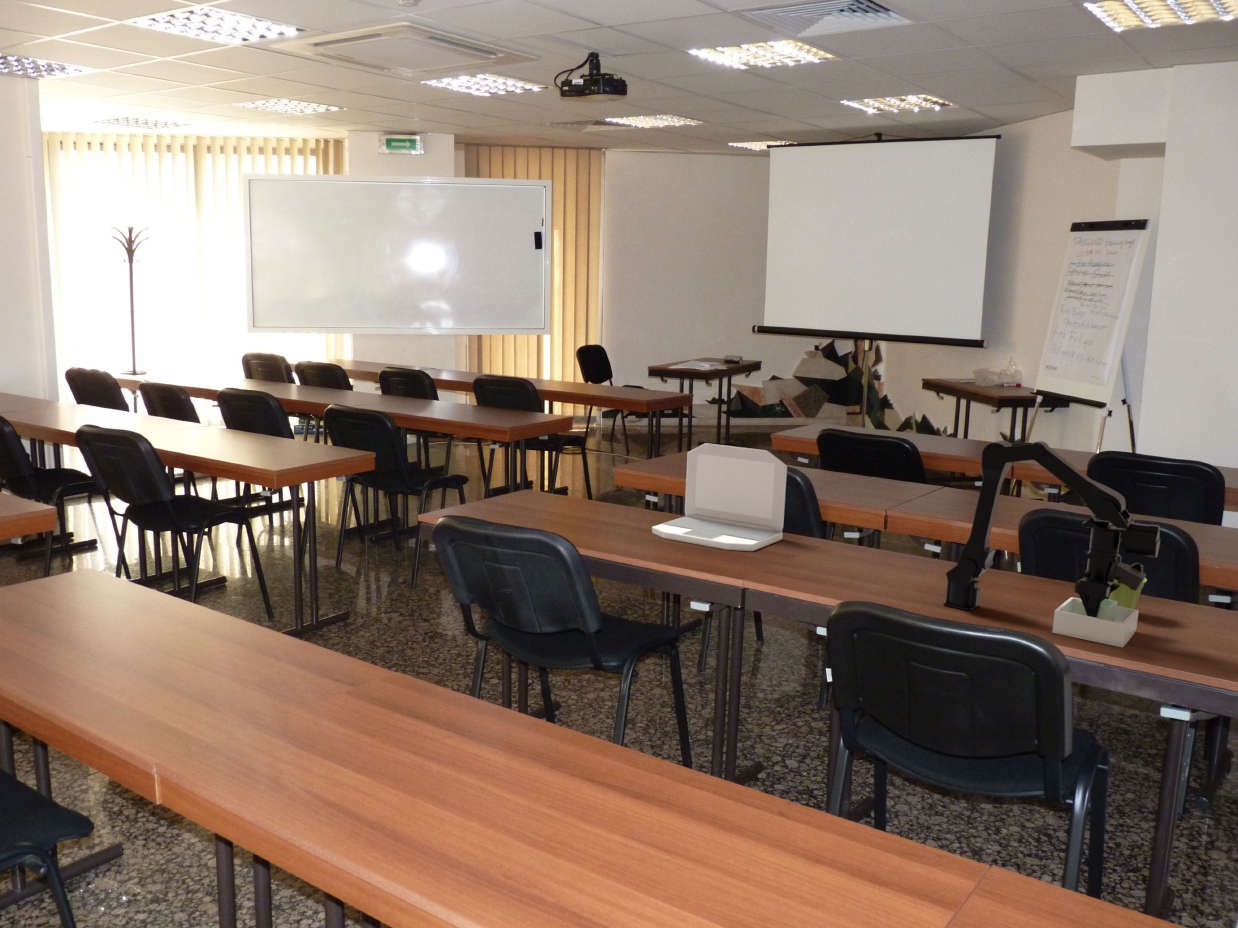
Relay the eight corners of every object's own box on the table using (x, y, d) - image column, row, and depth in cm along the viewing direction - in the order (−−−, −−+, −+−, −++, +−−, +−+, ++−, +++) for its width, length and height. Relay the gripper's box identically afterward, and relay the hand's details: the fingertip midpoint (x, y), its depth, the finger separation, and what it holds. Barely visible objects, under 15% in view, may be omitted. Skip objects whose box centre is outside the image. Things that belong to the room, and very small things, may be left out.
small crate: (1075, 623, 218) (1078, 601, 217) (1083, 616, 223) (1085, 595, 222) (1108, 630, 214) (1110, 607, 213) (1114, 623, 219) (1117, 601, 218)
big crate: (1052, 632, 217) (1054, 610, 216) (1068, 618, 228) (1071, 596, 227) (1122, 647, 209) (1125, 624, 208) (1136, 631, 220) (1138, 609, 219)
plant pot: (1147, 620, 229) (1152, 583, 228) (1103, 616, 231) (1108, 579, 229) (1135, 608, 238) (1139, 573, 237) (1093, 604, 240) (1097, 569, 239)
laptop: (645, 536, 297) (648, 448, 292) (686, 523, 316) (690, 440, 312) (746, 554, 278) (751, 461, 274) (782, 539, 298) (788, 452, 294)
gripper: (1136, 564, 204) (1127, 637, 206) (1153, 548, 218) (1144, 617, 221) (1077, 554, 210) (1069, 625, 213) (1098, 540, 225) (1090, 606, 227)
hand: (1095, 618), depth 218 cm, fingers closed on small crate, 6 cm apart
